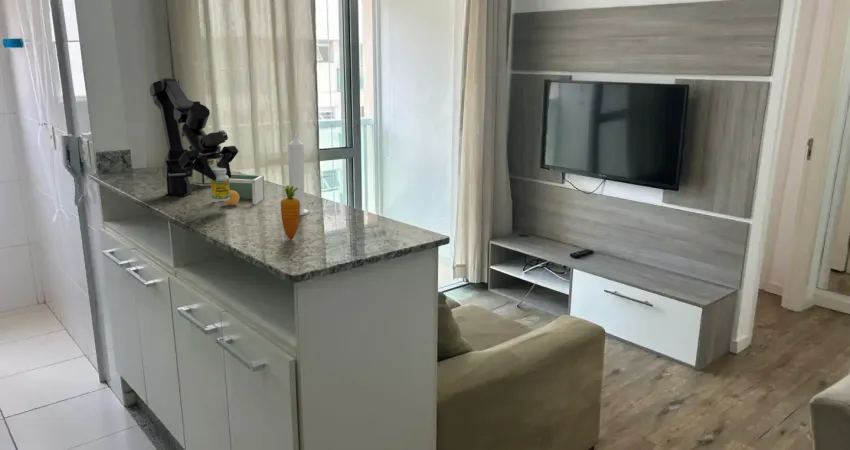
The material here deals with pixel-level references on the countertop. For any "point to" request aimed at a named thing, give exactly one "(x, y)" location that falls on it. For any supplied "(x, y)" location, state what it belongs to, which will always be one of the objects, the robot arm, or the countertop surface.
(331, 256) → the countertop surface
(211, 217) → the countertop surface
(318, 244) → the countertop surface
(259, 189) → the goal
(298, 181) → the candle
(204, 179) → the coffee can
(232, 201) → the ball
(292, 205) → the carrot
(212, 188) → the supplement bottle
